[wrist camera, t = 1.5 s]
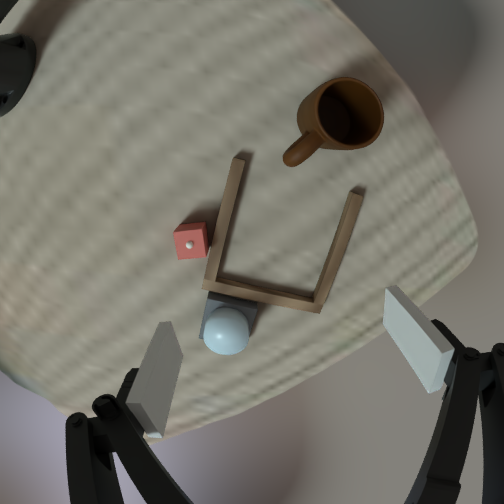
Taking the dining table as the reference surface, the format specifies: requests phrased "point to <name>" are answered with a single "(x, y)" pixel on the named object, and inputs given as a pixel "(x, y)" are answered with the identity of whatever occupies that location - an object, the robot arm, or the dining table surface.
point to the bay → (268, 294)
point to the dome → (226, 331)
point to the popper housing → (226, 301)
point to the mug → (336, 119)
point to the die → (191, 240)
